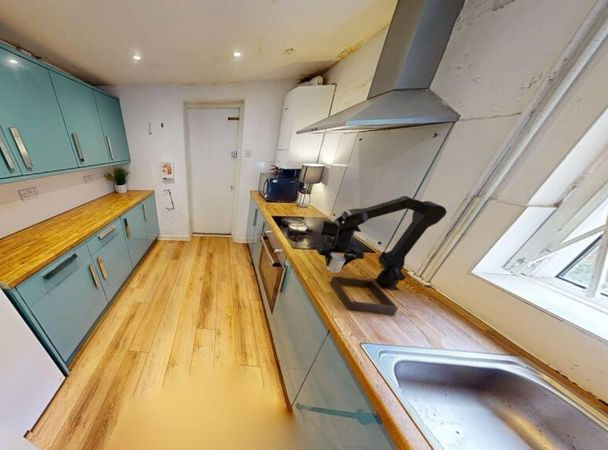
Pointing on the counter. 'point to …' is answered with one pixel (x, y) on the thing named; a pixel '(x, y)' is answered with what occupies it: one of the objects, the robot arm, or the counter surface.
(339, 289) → the brown square frame
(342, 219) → the robot arm
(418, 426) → the counter surface
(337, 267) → the shot glass
